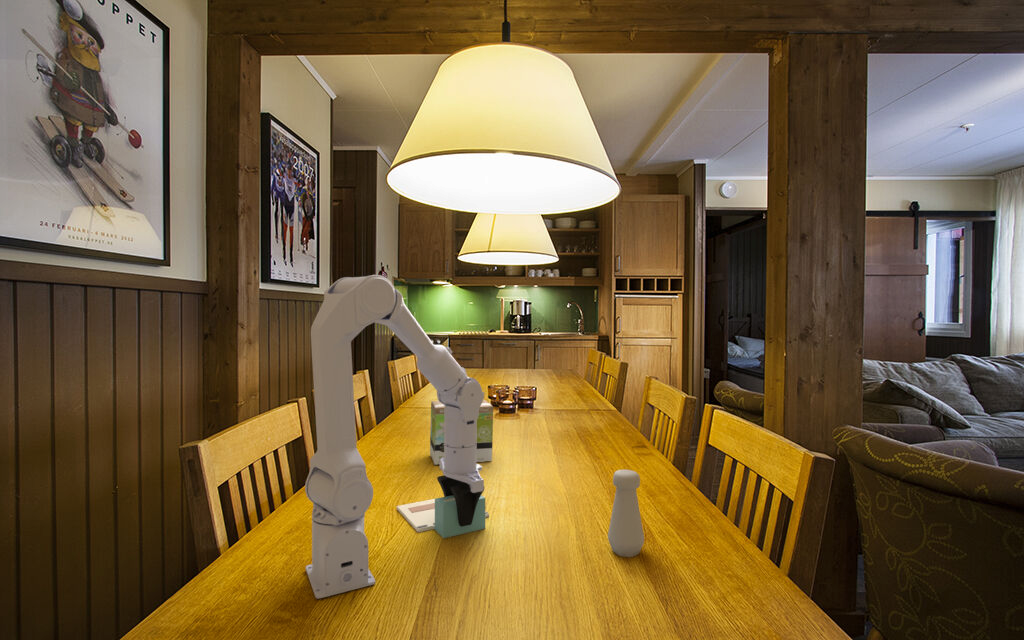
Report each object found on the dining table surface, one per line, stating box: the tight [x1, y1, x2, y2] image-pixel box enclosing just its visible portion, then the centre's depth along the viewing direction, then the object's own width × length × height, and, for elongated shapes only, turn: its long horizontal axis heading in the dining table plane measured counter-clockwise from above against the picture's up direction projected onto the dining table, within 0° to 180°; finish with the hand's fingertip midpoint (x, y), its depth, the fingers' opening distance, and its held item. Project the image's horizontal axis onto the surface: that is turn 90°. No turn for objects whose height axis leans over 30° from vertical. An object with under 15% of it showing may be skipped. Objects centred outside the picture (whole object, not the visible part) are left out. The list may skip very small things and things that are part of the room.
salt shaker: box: [607, 469, 645, 558], centre depth 83 cm, size 6×6×13 cm
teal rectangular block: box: [434, 494, 486, 539], centre depth 91 cm, size 4×8×6 cm, turn 120°
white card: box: [396, 498, 490, 533], centre depth 98 cm, size 12×14×1 cm
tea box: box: [429, 399, 494, 466], centre depth 134 cm, size 15×10×15 cm, turn 105°
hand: (460, 520), depth 91 cm, fingers open, 4 cm apart
